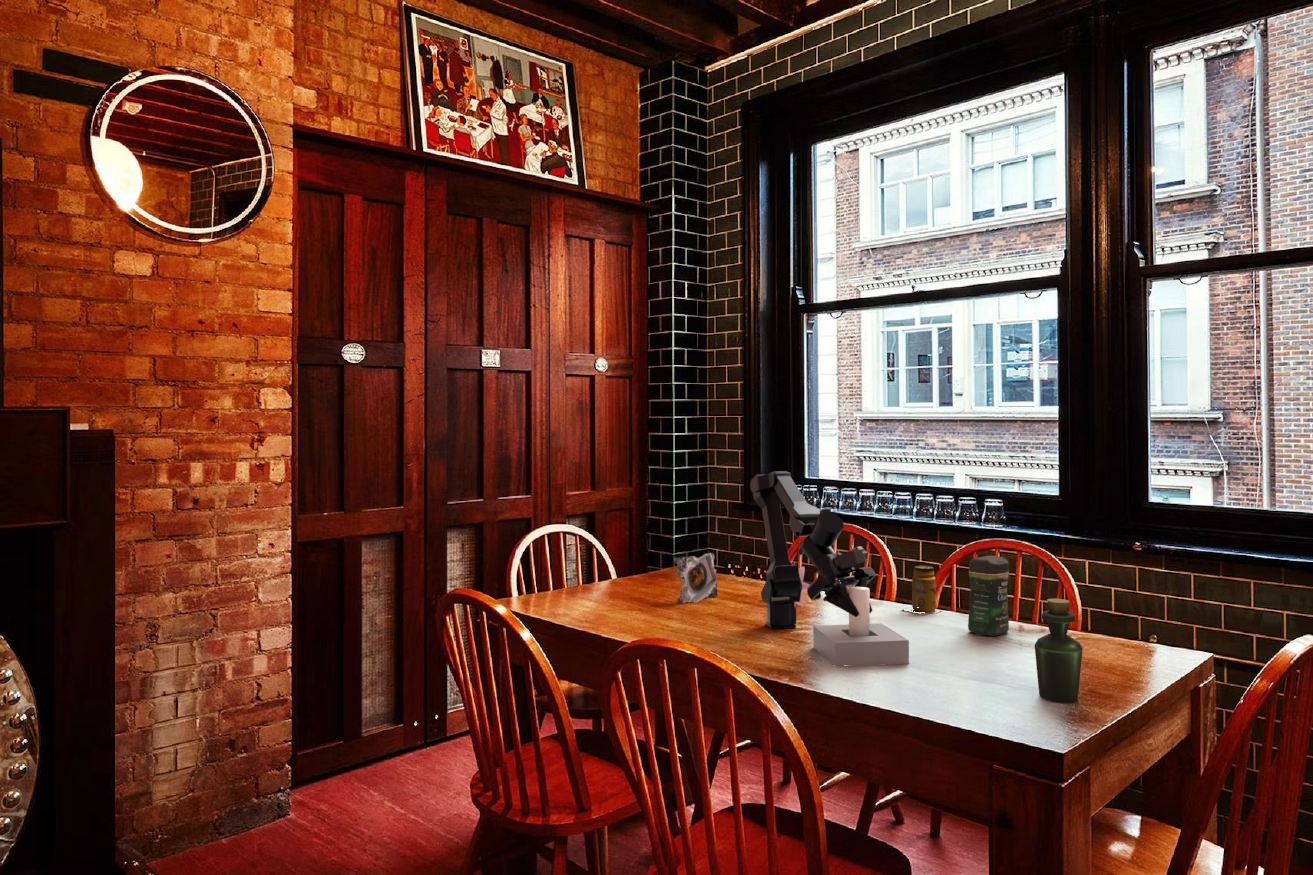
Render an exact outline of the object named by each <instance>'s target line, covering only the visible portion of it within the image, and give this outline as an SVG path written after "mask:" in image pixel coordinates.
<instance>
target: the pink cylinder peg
mask: <svg viewBox="0 0 1313 875" xmlns="http://www.w3.org/2000/svg"><path fill="white" fill-rule="evenodd" d="M848 592H849V597H850V598H851V600H852V602H853V603H854V605H855V607H856V608H857V610H858V612H859V615H858V616H857V617H855V616H853V615H851V614H850V613H848V624H849V636H850V637H854V636H870V624H871V623H870V617H871V616H870V614H871V613H870V607H869V602H870V588H869V587H867V586H866V587H850V588H849V591H848Z"/></svg>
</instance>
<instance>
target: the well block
mask: <svg viewBox="0 0 1313 875" xmlns="http://www.w3.org/2000/svg"><path fill="white" fill-rule="evenodd" d="M812 631H813V634H812V635H813V637H812V640H813V646H812V647H813V649H814V650H815V651H816V652H817V653H819V654H820V655H821V656H823V657H824V658H825V659H826V660H827V661H828V662H830V664H831V665H833V666H834V665H835V666H840V667H845V666H844V665H865V666H882V665H881V664H891V665H909V664H910V640H909V639H907V638H906V637H905V636H903V635H901V634H899V633H898V632H896V631H895V630H893V629H891V628H890V627H888V626H887V625H885V624H883V623H881V622H879V623H870V636H854V637H850V636H849V623H847V624H829V625H828V624H827V625H825V624H823V625H821V624H820V625H813V630H812ZM835 666H834V667H835Z"/></svg>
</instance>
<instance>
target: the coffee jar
mask: <svg viewBox="0 0 1313 875" xmlns="http://www.w3.org/2000/svg"><path fill="white" fill-rule="evenodd" d="M1009 565H1010V563H1009V561H1008V559H1006V557H1004V556H997V555H986V556H980V557H975V558H972V559H971V560H970V561H969V564H968V576H969V584H970V585H969V588H970V589H969V605H968V606H969V608H968V622H967V623H968V624H967V630H968V631H969V632H972V633H974V635H977V636H991V637H993V636H999V635H1003V634H1006V633H1008V632H1009V631H1010V630H1009V628H1010V625H1009V624H1010V622H1009V605H1008V604H1009V603H1008V600H1009V599H1008V584H1009V582H1008V581H1009V576H1010V568H1009Z"/></svg>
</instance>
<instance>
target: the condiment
mask: <svg viewBox="0 0 1313 875" xmlns="http://www.w3.org/2000/svg"><path fill="white" fill-rule="evenodd" d="M911 584H912V585H911V586H912V588H911V589H912V591H911V593H912V594H911V595H912V596H911V597H912V600H911V602H912V604H911V606H912V607H911V608H913V609H914V610H913V612H914V611H915V612H925V613H921V614H919V615H921V616H922V615H929V614H935V613H941V612H942V610H941V609H940V611H941V612H940V611H938V610H939V609H936V602H937V601H936V597H937V596H936V577H935V568H934V567H933V566H931V565H916V566H914V567H913V576H912V577H911ZM917 607H919V608H917ZM902 609H903V610H904V609H905V608H902ZM903 610H902V611H903Z"/></svg>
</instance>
